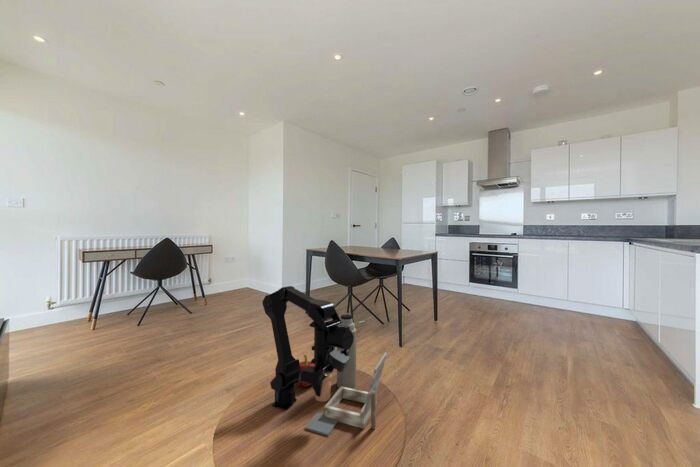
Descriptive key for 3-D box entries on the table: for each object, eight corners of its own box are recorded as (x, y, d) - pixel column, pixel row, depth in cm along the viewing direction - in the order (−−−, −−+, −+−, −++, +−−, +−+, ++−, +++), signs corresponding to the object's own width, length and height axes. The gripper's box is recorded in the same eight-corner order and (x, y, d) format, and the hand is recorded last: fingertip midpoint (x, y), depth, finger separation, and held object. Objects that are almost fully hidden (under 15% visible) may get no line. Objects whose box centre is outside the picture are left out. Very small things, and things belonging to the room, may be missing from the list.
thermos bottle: (356, 380, 112) (356, 313, 113) (356, 390, 104) (356, 318, 105) (337, 379, 112) (337, 313, 114) (336, 390, 104) (336, 318, 106)
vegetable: (292, 378, 113) (292, 355, 113) (316, 375, 116) (316, 352, 117) (294, 392, 103) (295, 366, 103) (321, 388, 106) (321, 362, 106)
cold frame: (324, 417, 87) (324, 360, 88) (340, 395, 100) (341, 345, 101) (376, 432, 81) (376, 369, 82) (387, 406, 94) (387, 352, 95)
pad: (305, 429, 82) (305, 427, 82) (317, 414, 89) (317, 412, 89) (328, 436, 79) (328, 434, 79) (339, 419, 86) (339, 417, 86)
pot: (310, 399, 83) (310, 376, 83) (319, 390, 88) (319, 368, 89) (326, 403, 81) (327, 380, 81) (334, 393, 86) (334, 371, 87)
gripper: (333, 357, 74) (332, 415, 73) (356, 336, 91) (356, 382, 90) (299, 351, 78) (298, 406, 77) (327, 332, 95) (326, 376, 95)
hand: (322, 391), depth 85 cm, fingers closed on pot, 5 cm apart
